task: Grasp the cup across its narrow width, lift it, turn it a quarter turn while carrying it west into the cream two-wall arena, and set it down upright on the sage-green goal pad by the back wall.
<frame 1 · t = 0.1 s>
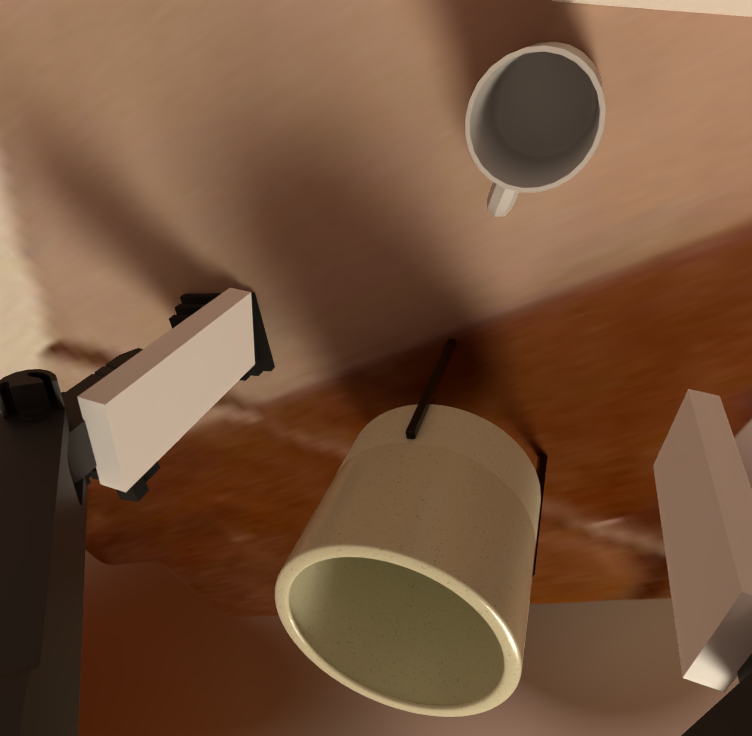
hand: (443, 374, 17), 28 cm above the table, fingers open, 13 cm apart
planter: (463, 413, 52), on the table
cup: (535, 125, 38), on the table
chess piece: (231, 329, 55), on the table
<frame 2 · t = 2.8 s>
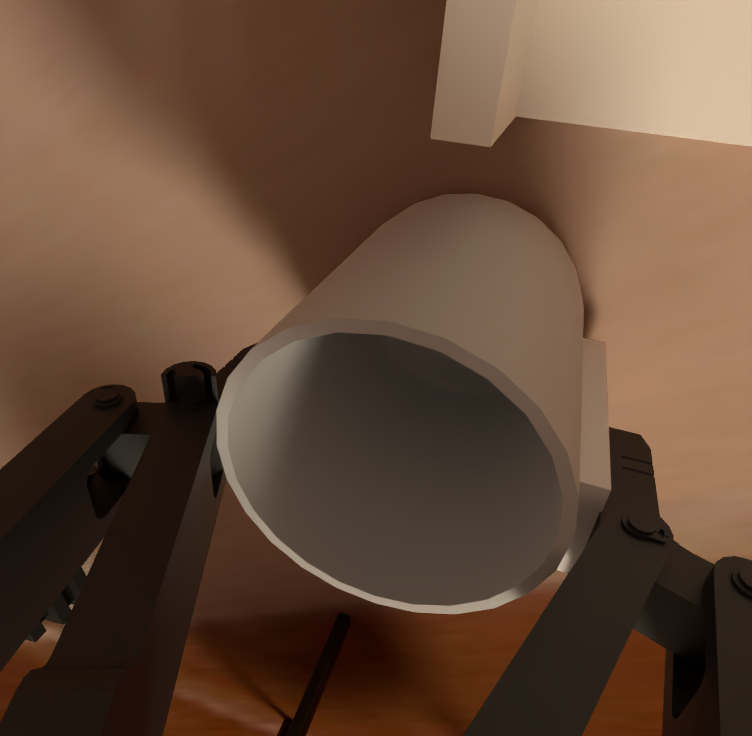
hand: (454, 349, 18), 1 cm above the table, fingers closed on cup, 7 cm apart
planter: (374, 700, 33), on the table
cup: (451, 333, 19), on the table, touching gripper
chess piece: (30, 544, 36), on the table
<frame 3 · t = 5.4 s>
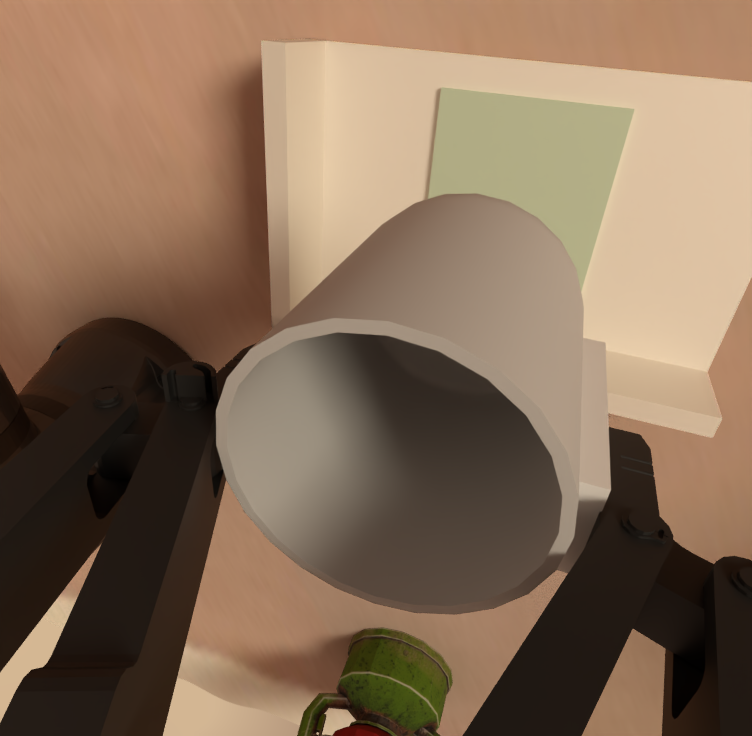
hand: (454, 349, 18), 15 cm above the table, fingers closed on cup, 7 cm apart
lantern: (400, 662, 55), on the table
goal pad: (509, 221, 30), resting on arena
cup: (451, 333, 19), point 14 cm above the table, touching gripper
arena: (510, 218, 30), on the table
when the fingers open (3 cm above the table, at t = 8.0 s): cup drops 2 cm, resting on goal pad.
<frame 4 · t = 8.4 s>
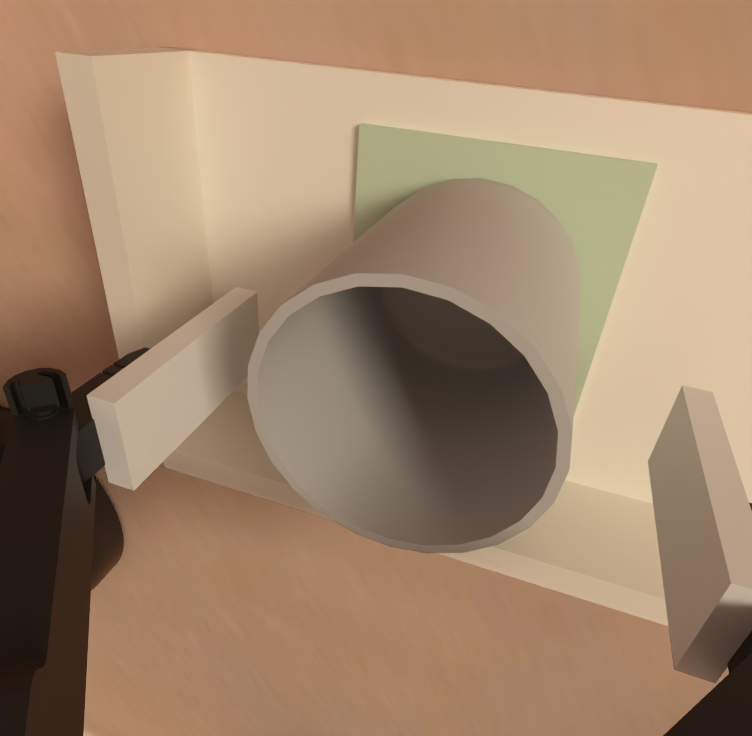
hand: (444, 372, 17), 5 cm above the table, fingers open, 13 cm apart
goal pad: (468, 316, 20), resting on arena
cup: (458, 313, 20), point 1 cm above the table, touching goal pad
arena: (471, 310, 21), on the table
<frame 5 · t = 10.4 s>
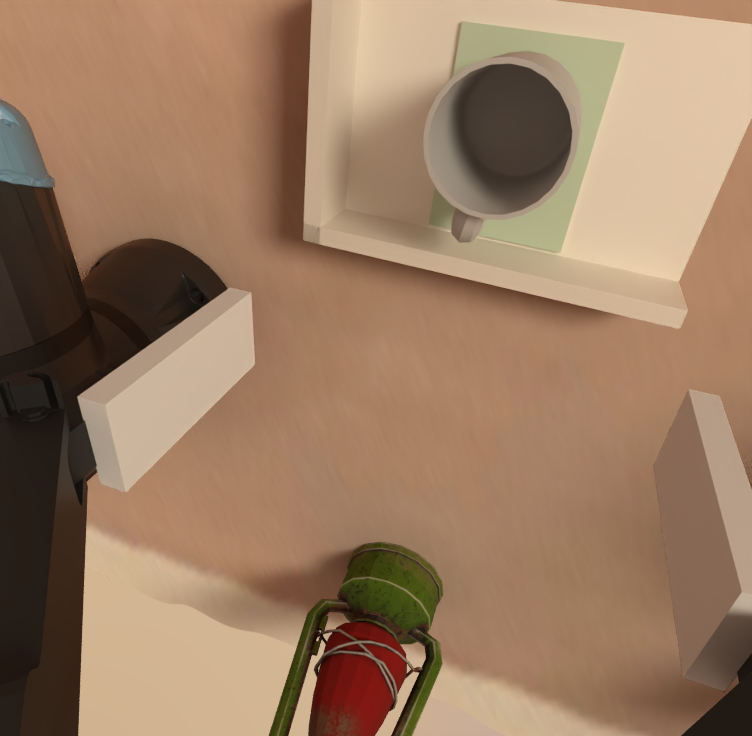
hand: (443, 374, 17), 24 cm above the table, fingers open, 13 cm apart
lantern: (395, 576, 60), on the table
goal pad: (515, 144, 34), resting on arena
cup: (509, 141, 34), point 1 cm above the table, touching goal pad
arena: (516, 142, 35), on the table
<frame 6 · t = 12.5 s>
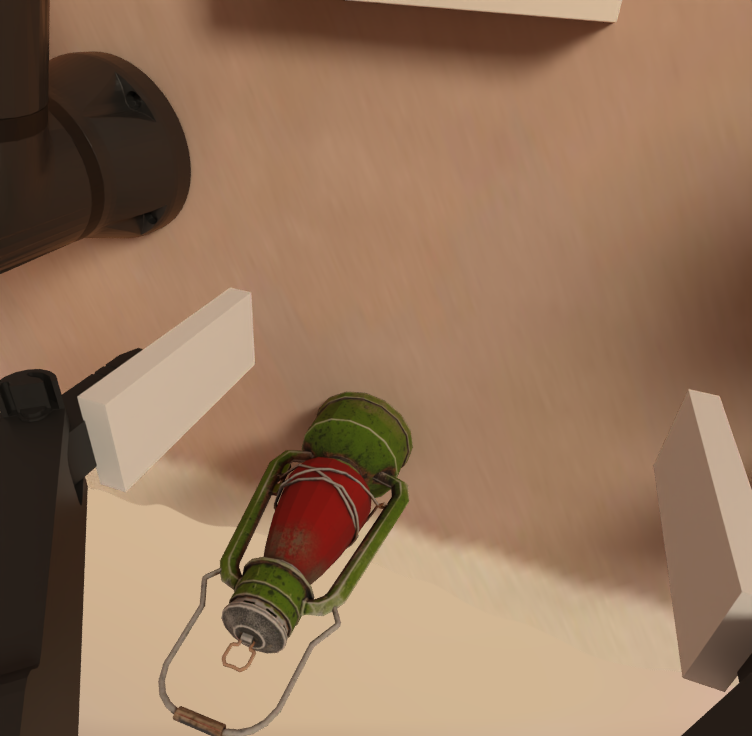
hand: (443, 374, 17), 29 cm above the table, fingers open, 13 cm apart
lantern: (364, 433, 58), on the table
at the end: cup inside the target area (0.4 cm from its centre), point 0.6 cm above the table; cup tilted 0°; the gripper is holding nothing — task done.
